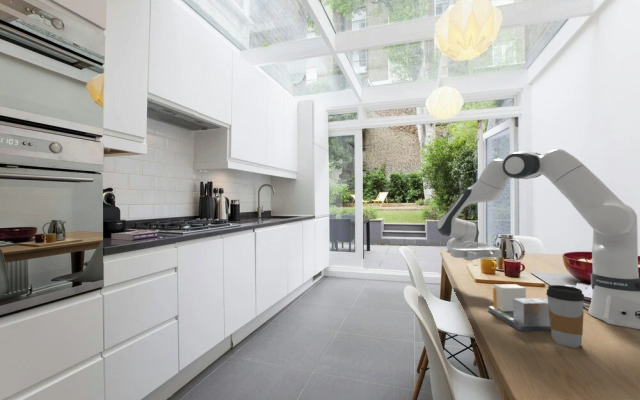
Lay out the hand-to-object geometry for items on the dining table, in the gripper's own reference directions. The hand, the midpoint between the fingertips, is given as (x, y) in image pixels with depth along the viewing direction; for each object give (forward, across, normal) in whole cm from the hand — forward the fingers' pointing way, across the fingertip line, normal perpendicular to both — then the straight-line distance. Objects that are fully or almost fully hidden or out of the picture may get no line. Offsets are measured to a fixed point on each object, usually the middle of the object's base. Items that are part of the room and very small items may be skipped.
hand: (484, 255), depth 122 cm
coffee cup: (+39, +2, +18) cm, 43 cm away
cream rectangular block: (+16, -1, +16) cm, 23 cm away
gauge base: (+22, 0, +18) cm, 29 cm away
